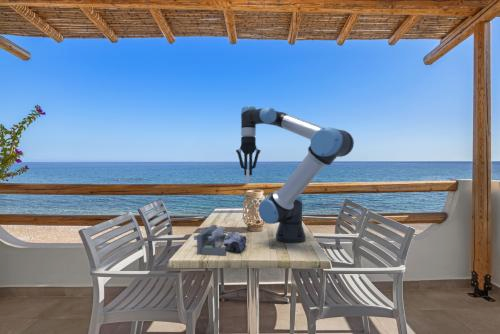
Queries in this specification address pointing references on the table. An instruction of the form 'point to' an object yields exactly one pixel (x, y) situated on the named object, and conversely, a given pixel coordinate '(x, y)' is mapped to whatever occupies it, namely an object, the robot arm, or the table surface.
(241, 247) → the rock
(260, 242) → the table surface
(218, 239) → the gauge plunger
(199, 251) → the frame
